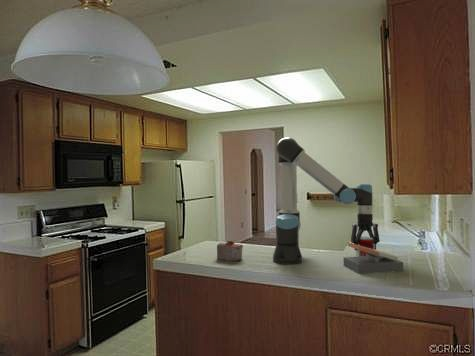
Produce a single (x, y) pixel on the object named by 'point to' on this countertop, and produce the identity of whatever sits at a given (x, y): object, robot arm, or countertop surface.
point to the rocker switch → (372, 251)
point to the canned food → (365, 244)
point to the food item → (229, 251)
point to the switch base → (372, 264)
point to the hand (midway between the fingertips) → (365, 256)
